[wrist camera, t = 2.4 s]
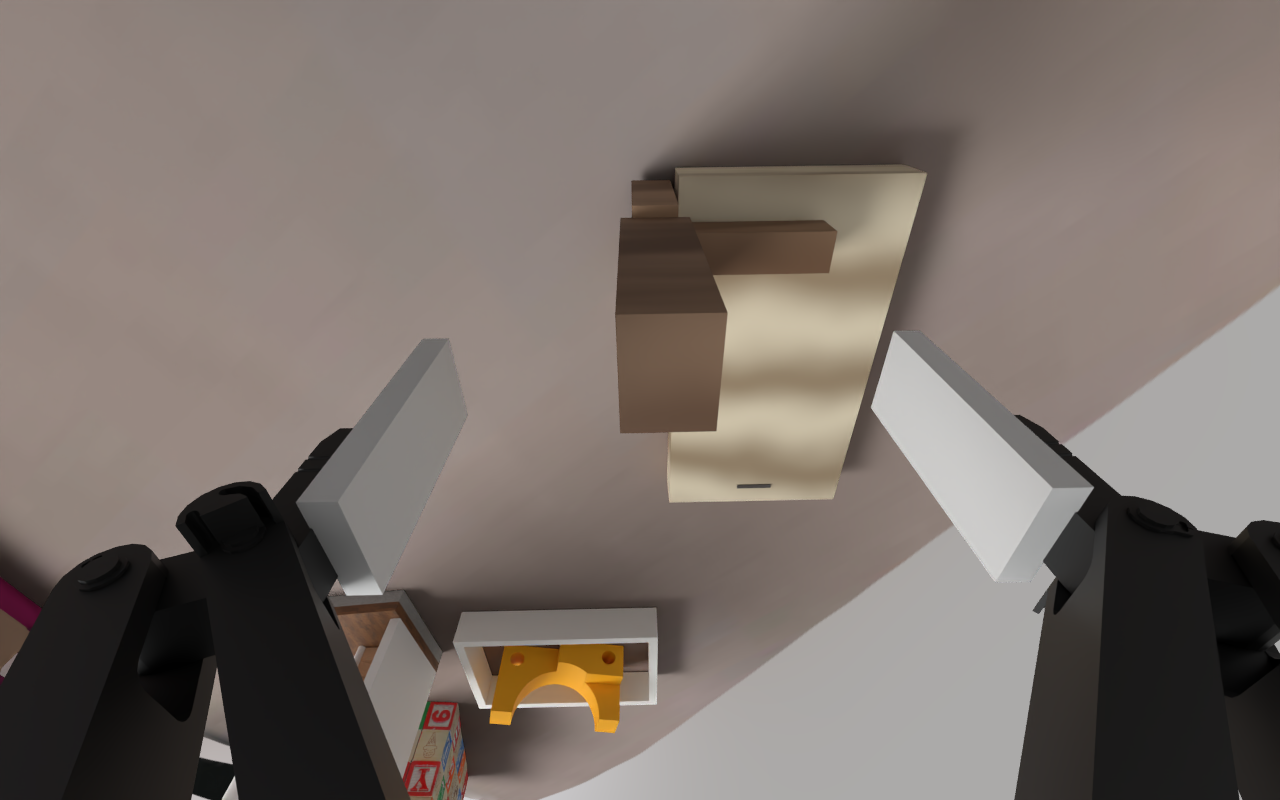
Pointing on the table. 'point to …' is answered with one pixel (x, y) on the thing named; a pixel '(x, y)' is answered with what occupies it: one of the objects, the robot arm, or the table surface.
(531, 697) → the clamp rest frame
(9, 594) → the book
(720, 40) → the table surface
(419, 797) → the stack of blocks
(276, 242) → the table surface
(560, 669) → the pipe clamp
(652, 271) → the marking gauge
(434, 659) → the white column with cutout
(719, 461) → the pine board
